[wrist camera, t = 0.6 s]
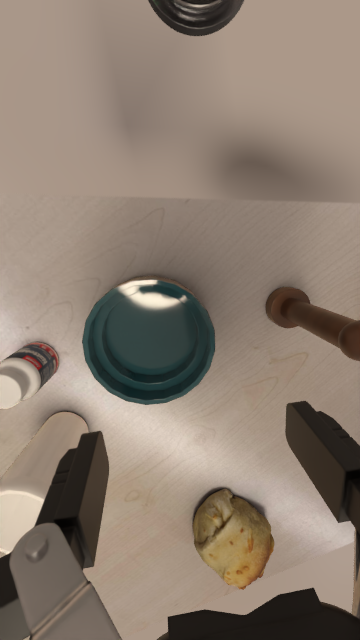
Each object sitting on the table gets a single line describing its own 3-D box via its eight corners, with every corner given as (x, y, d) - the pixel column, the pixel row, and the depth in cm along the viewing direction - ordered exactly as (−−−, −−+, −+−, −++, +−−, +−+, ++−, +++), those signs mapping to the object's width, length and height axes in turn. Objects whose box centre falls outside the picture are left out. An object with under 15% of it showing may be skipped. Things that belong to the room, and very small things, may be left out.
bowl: (70, 326, 36) (54, 339, 31) (157, 250, 35) (156, 250, 29) (147, 403, 40) (144, 426, 34) (229, 337, 38) (240, 351, 33)
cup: (107, 427, 40) (77, 519, 26) (71, 462, 41) (25, 568, 27) (62, 393, 39) (5, 473, 25) (26, 431, 40) (-47, 528, 26)
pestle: (258, 303, 37) (331, 344, 21) (289, 278, 36) (389, 300, 20) (279, 331, 38) (365, 391, 22) (310, 307, 38) (421, 350, 21)
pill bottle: (63, 348, 37) (33, 377, 28) (54, 382, 38) (22, 420, 29) (23, 336, 36) (-21, 362, 28) (15, 371, 37) (-29, 407, 29)
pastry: (266, 547, 48) (285, 605, 40) (194, 556, 47) (201, 616, 40) (265, 481, 44) (287, 530, 37) (188, 490, 44) (194, 542, 36)
